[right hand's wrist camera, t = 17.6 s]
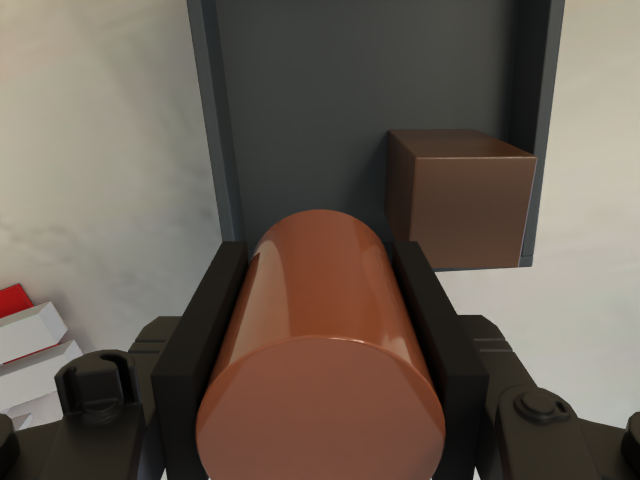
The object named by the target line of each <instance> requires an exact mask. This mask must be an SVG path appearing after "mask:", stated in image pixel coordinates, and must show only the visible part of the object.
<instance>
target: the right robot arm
mask: <svg viewBox="0 0 640 480" xmlns="http://www.w3.org/2000/svg"><path fill="white" fill-rule="evenodd" d="M248 266H249V264H248V248H247V241H223V242H222V244H221V246H220V247H219V249H218V251H217V253H216V255H215V257H214V259H213V260H212V262H211V264H210V266H209V268H208V270H207V271H206V273H205V275H204V277H203V279H202V281H201V282H200V284H199V286H198V288H197V290H196V292H195V294H194V295H193V297H192V299H191V301H190V303H189V305H188V306H187V308H186V310H185V312H184V314H183V316H159V317H158V318H156V319H155V320H153V321H152V322H151V323H149V324H148V325H146V326H145V327H144V328H143V329H142V331H141V332H140V334H139V335H138V337H137V338H136V340H135V343H133V344H132V346H131V347H130V349H129V350H128V352H124V351H121V350H100V351H95V352H91V353H87V354H85V355H82V356H80V357H78V358H75V359H73V360H72V361H70V362H69V363H67V364H66V365H64V366H63V367H61V369H60V370H59V371H58V372H57V374H56V375H55V376H54V380H55V384H56V388H57V392H58V396H59V399H60V403H61V407H62V411H63V418H62V420H59V421H56V422H53V423H49V424H45V425H40V426H36V427H31V428H27V429H22V430H18V431H15V428H14V425H13V421H12V420H11V419H10V418H9V417H8V416H7V415H6V414H1V413H0V480H161V477H162V475H163V472H164V469H165V468H166V474H167V480H208V479H209V476H208V475H207V473H206V471H205V469H204V467H203V465H202V463H201V460H200V457H199V454H198V451H197V445H196V439H195V424H196V418H197V412H198V409H199V406H200V404H201V401H202V398H203V395H204V392H205V389H206V386H207V384H208V381H209V378H210V375H211V372H212V369H213V366H214V364H215V361H216V358H217V355H218V352H219V349H220V346H221V344H222V341H223V338H224V335H225V332H226V329H227V326H228V323H229V321H230V318H231V315H232V312H233V309H234V306H235V303H236V301H237V298H238V295H239V292H240V289H241V286H242V283H243V281H244V278H245V275H246V272H247V269H248ZM392 268H393V271H394V273H395V276H396V279H397V282H398V285H399V287H400V290H401V293H402V296H403V299H404V302H405V304H406V307H407V310H408V313H409V316H410V318H411V321H412V324H413V327H414V330H415V332H416V335H417V338H418V341H419V344H420V347H421V349H422V352H423V355H424V358H425V361H426V363H427V366H428V369H429V372H430V375H431V377H432V380H433V383H434V386H435V389H436V391H437V394H438V397H439V400H440V403H441V406H442V409H443V413H444V417H445V426H446V437H445V446H444V450H443V453H442V457H441V460H440V462H439V464H438V467H437V469H436V471H435V472H434V474H433V476H432V477H431V478H432V480H473V476H474V470H475V466H476V469H477V472H478V474H479V477H480V479H481V480H640V412H635V413H634V414H633V415H632V416H631V417H630V418H629V419H628V423H627V426H626V429H622V428H618V427H613V426H609V425H604V424H600V423H595V422H591V421H588V420H584V419H581V418H578V417H577V415H576V413H575V412H574V410H573V409H572V407H571V406H570V404H568V403H567V402H566V401H565V400H563V399H562V398H561V397H560V396H558V395H556V394H554V393H552V392H550V391H548V390H546V389H543V388H539V387H537V385H536V384H535V382H534V381H533V379H532V378H531V376H530V375H529V373H528V372H527V370H526V369H525V367H524V366H523V364H522V363H521V361H520V360H519V358H518V357H517V355H516V354H515V352H513V351H512V348H511V346H510V345H509V343H508V342H507V341H505V337H504V336H503V334H502V333H501V331H500V330H499V328H498V327H497V326H496V325H495V324H493V323H492V322H491V321H489V320H488V319H486V318H485V317H483V316H482V315H457V313H456V311H455V310H454V308H453V306H452V304H451V302H450V300H449V299H448V297H447V295H446V293H445V291H444V289H443V288H442V286H441V284H440V282H439V280H438V278H437V276H436V275H435V273H434V271H433V269H432V267H431V265H430V264H429V262H428V260H427V258H426V256H425V254H424V253H423V251H422V249H421V247H420V245H419V243H418V242H417V241H393V251H392Z"/></svg>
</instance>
